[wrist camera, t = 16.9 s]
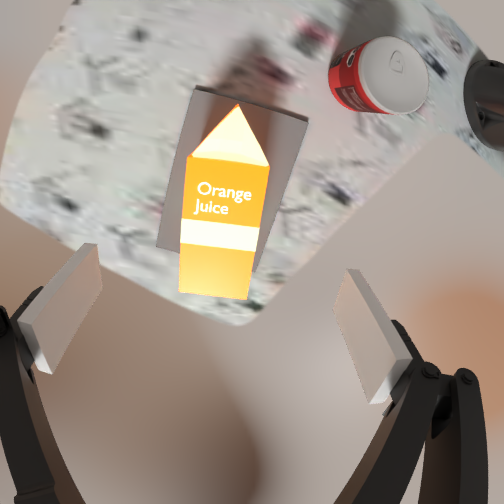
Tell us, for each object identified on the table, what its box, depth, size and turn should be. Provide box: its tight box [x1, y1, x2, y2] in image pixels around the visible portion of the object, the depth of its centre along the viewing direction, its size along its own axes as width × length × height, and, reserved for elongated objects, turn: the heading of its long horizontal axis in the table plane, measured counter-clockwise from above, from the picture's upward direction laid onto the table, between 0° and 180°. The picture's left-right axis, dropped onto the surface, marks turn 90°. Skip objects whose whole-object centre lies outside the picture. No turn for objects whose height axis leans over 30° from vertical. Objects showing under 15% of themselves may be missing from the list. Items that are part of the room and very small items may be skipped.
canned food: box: [328, 36, 429, 115], centre depth 26 cm, size 8×8×11 cm
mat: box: [156, 89, 308, 272], centre depth 36 cm, size 14×21×1 cm, turn 163°
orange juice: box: [179, 105, 270, 300], centre depth 32 cm, size 8×9×20 cm
